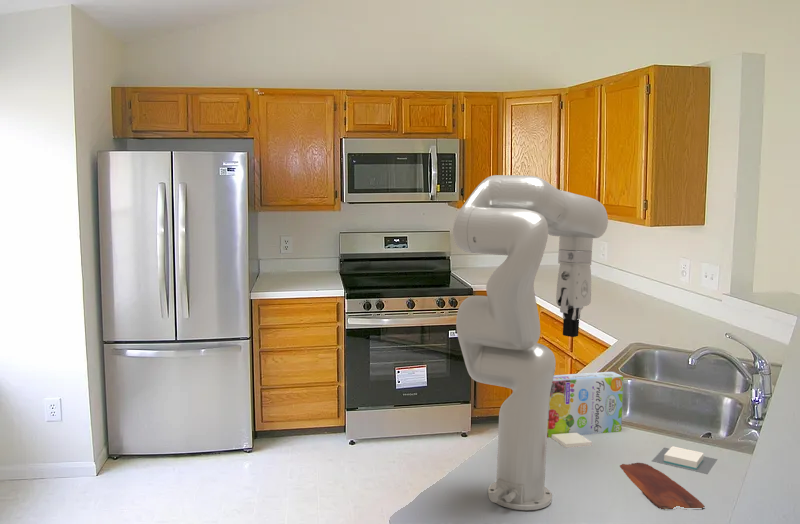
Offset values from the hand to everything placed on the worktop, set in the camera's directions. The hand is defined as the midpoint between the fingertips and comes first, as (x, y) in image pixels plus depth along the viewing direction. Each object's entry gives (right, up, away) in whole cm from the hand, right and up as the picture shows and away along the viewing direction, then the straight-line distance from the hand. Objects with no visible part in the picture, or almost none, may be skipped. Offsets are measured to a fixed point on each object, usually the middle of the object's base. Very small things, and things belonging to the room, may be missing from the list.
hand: (570, 335), depth 166 cm
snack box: (+6, -27, +16) cm, 32 cm away
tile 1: (+2, -28, +8) cm, 29 cm away
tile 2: (+27, -27, -1) cm, 39 cm away
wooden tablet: (+14, -31, -14) cm, 37 cm away
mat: (+26, -29, -2) cm, 39 cm away
